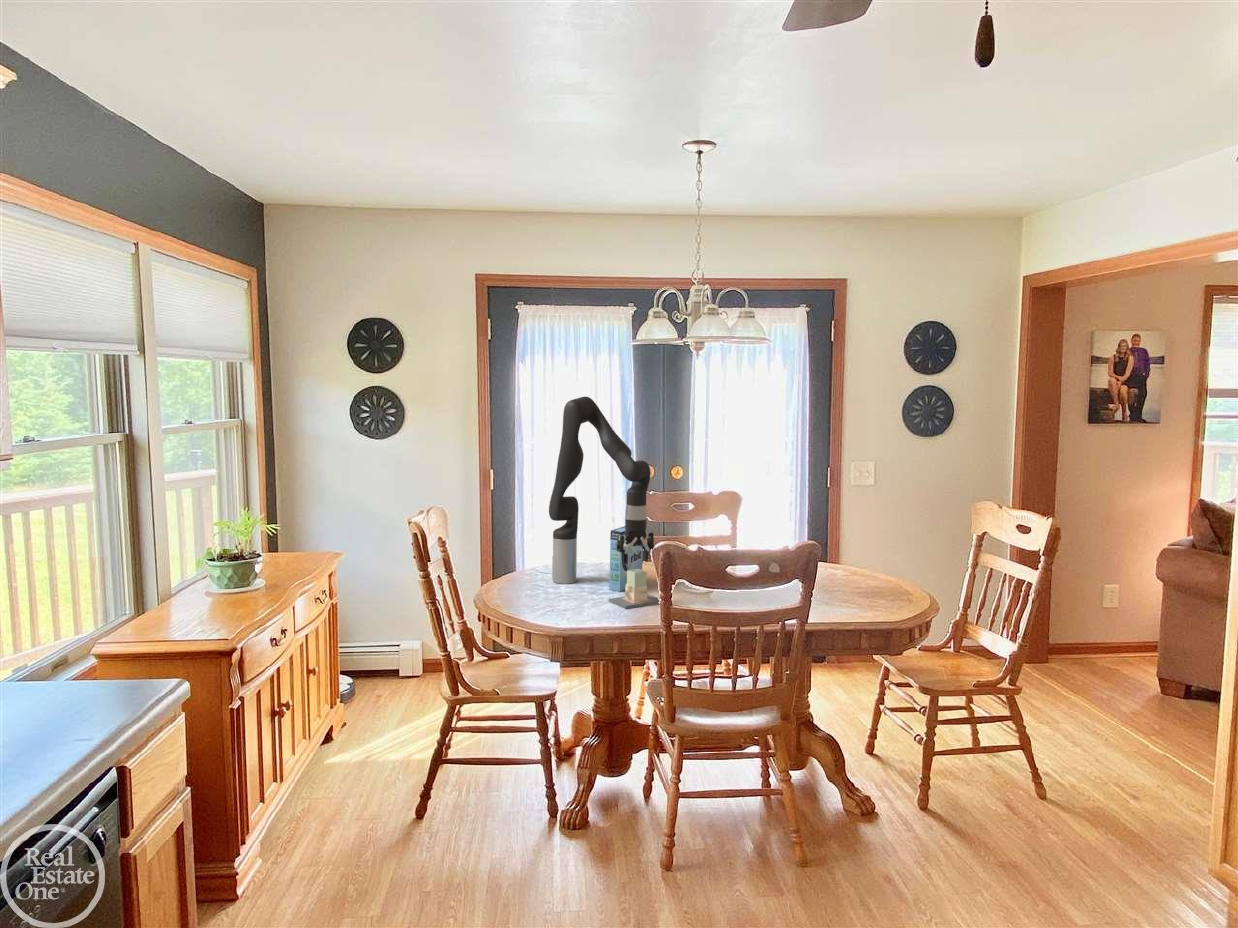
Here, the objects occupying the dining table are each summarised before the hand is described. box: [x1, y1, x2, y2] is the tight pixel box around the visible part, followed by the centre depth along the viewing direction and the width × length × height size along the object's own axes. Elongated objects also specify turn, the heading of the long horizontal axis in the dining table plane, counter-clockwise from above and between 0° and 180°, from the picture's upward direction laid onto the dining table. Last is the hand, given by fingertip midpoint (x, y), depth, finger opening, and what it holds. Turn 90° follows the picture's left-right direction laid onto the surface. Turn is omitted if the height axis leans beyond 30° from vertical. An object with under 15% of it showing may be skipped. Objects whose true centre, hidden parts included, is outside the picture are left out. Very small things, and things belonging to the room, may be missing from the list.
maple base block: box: [624, 584, 648, 602], centre depth 286 cm, size 6×6×5 cm
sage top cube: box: [627, 569, 648, 587], centre depth 286 cm, size 5×5×5 cm
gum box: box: [608, 525, 644, 593], centre depth 309 cm, size 20×5×23 cm, turn 153°
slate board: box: [608, 593, 659, 610], centre depth 286 cm, size 11×16×1 cm
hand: (635, 562), depth 288 cm, fingers open, 8 cm apart
